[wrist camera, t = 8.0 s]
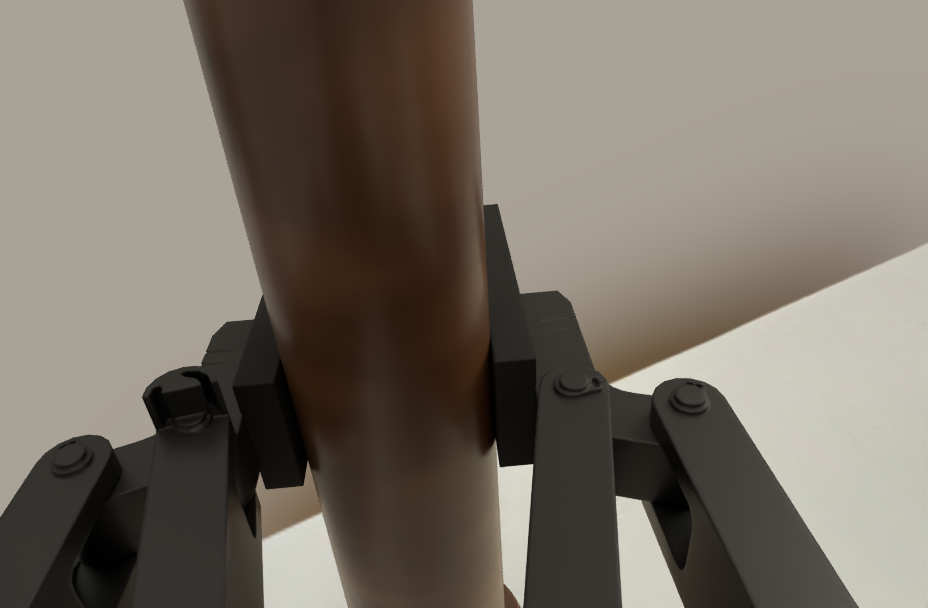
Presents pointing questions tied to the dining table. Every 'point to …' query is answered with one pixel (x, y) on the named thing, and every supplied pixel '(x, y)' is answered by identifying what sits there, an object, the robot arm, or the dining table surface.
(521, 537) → the dining table surface
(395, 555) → the brown wooden cylinder
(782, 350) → the dining table surface
